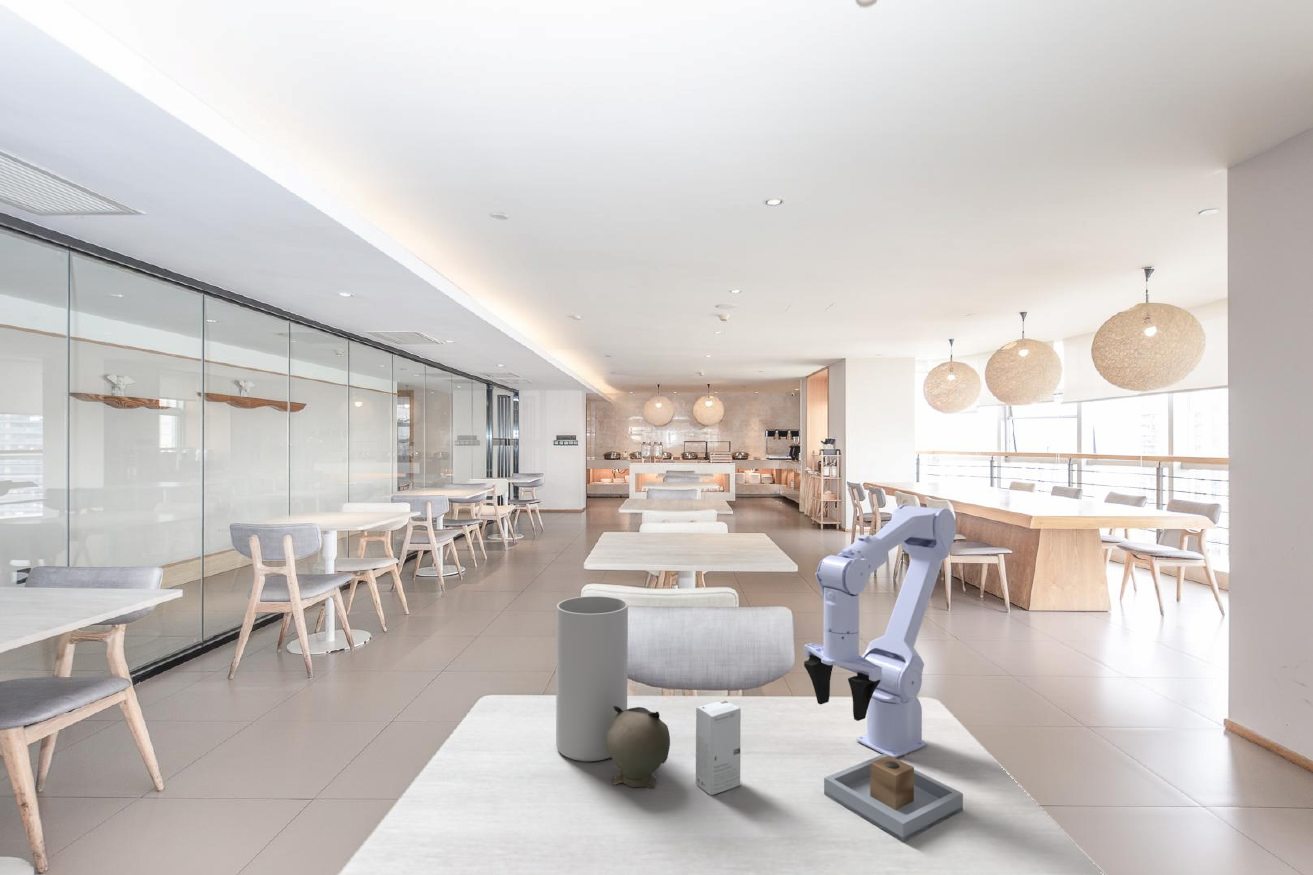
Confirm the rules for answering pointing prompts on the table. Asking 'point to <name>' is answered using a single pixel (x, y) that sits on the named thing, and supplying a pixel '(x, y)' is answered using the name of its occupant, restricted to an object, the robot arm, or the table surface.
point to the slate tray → (903, 823)
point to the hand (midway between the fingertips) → (840, 710)
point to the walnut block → (892, 782)
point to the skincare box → (718, 747)
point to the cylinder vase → (590, 673)
